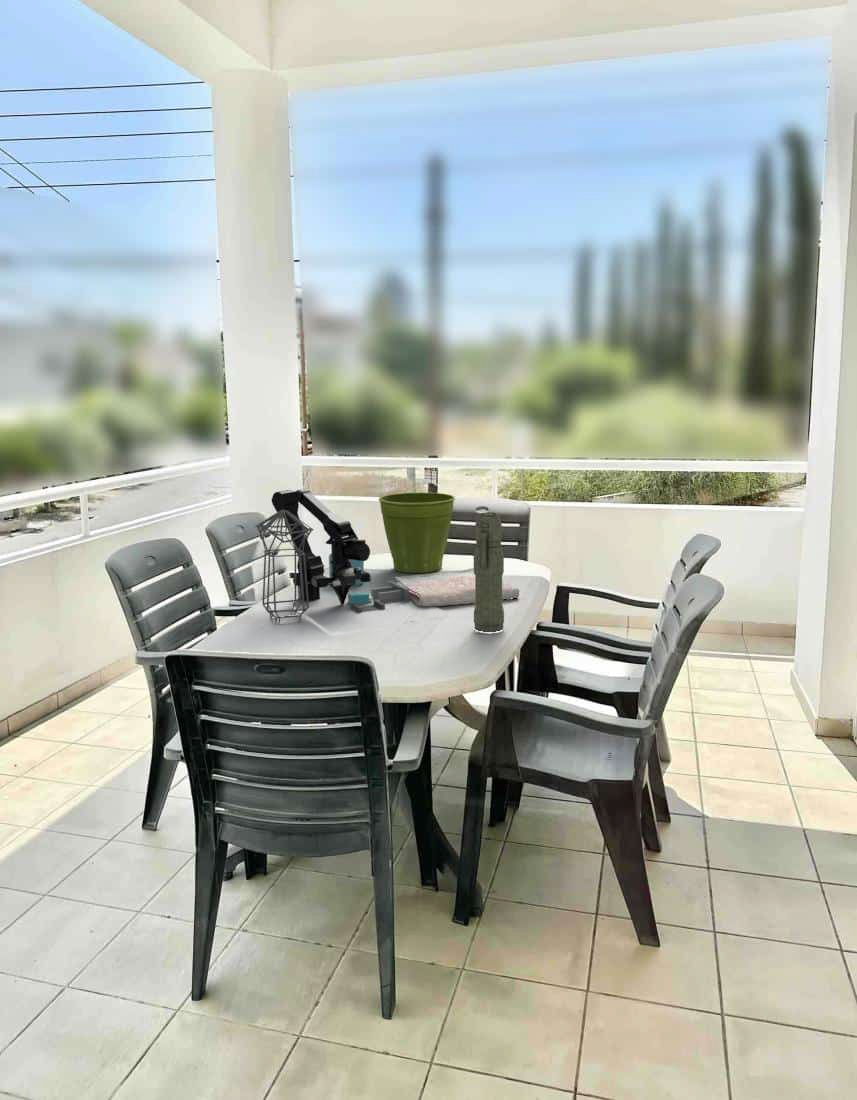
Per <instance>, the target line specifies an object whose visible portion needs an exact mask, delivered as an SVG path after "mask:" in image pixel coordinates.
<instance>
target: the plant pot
mask: <svg viewBox="0 0 857 1100" xmlns="http://www.w3.org/2000/svg"><path fill="white" fill-rule="evenodd" d="M455 499H456V496H454V495H452V494H450V493H440V492H401V493H392V494H385V495H382V496H379V497H378V501H379V503H380V513H381V514H382V521H383V526H384V531H385V536H386V540H387V544H388V548H389V550H390V555H391V558H392V561H393V569H394V570H396V571H398V572H401V573H406V574H407V573H408V574H428V573H433V572H437V571H439V570H441V569H442V568H443V558H444V555H445V552H446V551H445V550H446V547H447V545H448V544H447V542H448V538H449V535H450V534H449V533H450V529H451V523H452V522H451V521H452V514H453V512H454V501H455Z"/></svg>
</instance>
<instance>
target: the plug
mask: <svg viewBox="0 0 857 1100" xmlns="http://www.w3.org/2000/svg"><path fill="white" fill-rule="evenodd" d="M370 602H374V599H373V597H371V594H370V593H368V592H366V591H359V592H352V593H351V592H350V593H347V603H348V604H350V605H351V603H355V604H356V605H364V604H370Z"/></svg>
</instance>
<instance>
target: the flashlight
mask: <svg viewBox="0 0 857 1100" xmlns="http://www.w3.org/2000/svg"><path fill="white" fill-rule="evenodd" d="M474 525H475V527H474V528H475V531H474V533H475V542H476V544H475V549H474V553H473V568H474V574H475V603H474V604H475V607H474V610H473V623H474V628H475V629H476V630H478V631H483V632H496V631H500V630H502V629H503V628H504V623H505V610H504V607H503V600H502V581H503V574H504V572H505V567H504V566H505V564H504V562H505V561H504V560H505V556H504V555H505V554H504V552H503V549H502V547H503V546H502V538H503V537H502V536H503V534H502V533H503V532H502V530H503V529H502V527H503V525H502V520H501V518H500V514H498V513H496V512H481V513H479V514H478V515H477V517H476V520H475V524H474Z"/></svg>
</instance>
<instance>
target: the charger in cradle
mask: <svg viewBox="0 0 857 1100" xmlns="http://www.w3.org/2000/svg"><path fill="white" fill-rule="evenodd" d="M350 608H351V609H352V610H354V611H356V612H357V613H367V612H375V611H380V610H385V609H386V604H385V603H384V602H383V603H381V602H379V600H377V599H375V600H374V599H373V604H370V605H362V606H360V605H359V604H357V605H356V604H355V603H351V604H350Z"/></svg>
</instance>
